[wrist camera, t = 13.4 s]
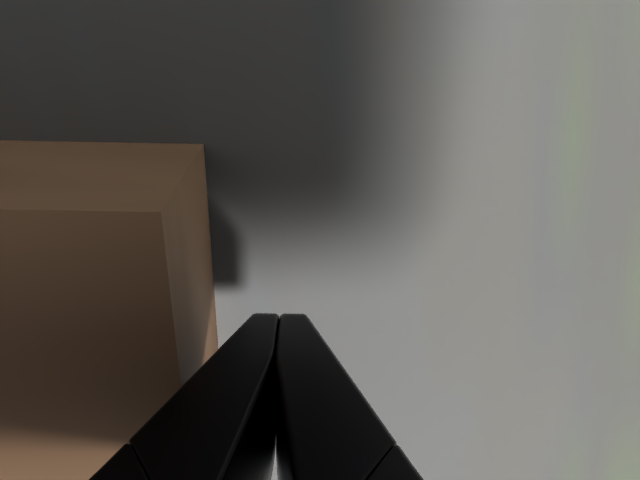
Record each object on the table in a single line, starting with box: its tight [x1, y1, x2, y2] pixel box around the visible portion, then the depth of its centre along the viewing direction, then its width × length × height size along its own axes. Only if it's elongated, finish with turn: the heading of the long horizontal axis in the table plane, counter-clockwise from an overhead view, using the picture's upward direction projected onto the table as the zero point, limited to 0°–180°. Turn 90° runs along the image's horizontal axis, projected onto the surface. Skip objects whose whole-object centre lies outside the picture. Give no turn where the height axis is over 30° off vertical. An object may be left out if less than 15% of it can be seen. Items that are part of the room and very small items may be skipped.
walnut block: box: [0, 140, 218, 480], centre depth 9 cm, size 6×6×3 cm
